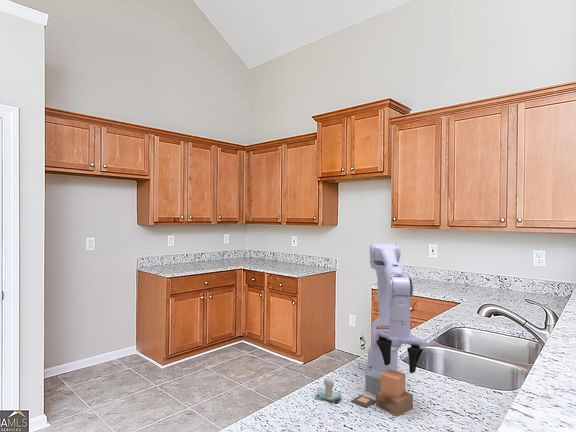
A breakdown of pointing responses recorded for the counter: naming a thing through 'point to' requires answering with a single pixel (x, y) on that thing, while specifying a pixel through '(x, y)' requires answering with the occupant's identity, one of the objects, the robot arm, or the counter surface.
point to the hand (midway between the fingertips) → (399, 368)
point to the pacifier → (328, 391)
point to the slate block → (372, 381)
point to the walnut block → (395, 403)
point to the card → (363, 401)
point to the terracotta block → (392, 383)
